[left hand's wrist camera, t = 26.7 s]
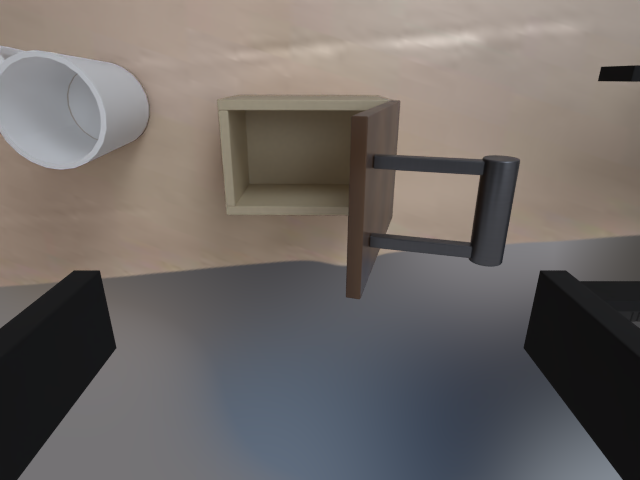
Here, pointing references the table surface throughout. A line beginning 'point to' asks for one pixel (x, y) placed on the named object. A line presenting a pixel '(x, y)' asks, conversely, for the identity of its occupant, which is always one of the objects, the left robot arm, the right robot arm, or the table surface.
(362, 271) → the lid
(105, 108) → the mug
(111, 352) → the left robot arm
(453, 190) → the table surface
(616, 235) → the table surface
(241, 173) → the chest
